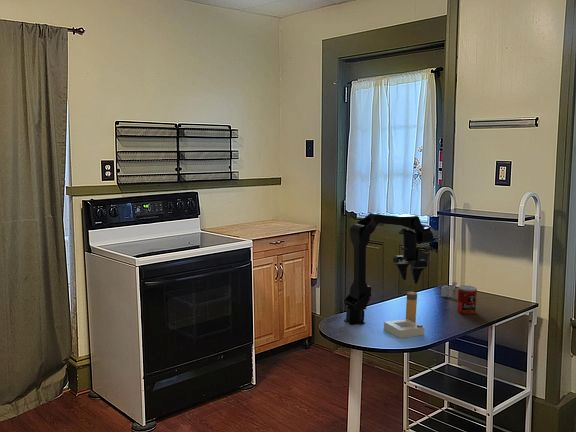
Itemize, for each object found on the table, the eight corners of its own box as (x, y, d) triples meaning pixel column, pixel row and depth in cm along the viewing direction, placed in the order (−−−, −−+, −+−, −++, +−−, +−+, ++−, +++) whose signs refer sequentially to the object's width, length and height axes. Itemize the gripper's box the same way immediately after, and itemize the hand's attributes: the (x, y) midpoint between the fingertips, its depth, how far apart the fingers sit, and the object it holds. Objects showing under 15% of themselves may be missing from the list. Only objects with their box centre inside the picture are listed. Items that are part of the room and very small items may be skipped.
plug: (409, 326, 228) (410, 294, 226) (403, 323, 232) (404, 292, 230) (417, 325, 230) (419, 294, 228) (411, 322, 233) (413, 291, 232)
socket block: (399, 338, 214) (400, 328, 214) (383, 329, 224) (384, 320, 224) (424, 335, 218) (424, 325, 218) (407, 326, 228) (407, 317, 228)
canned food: (462, 315, 246) (464, 290, 244) (453, 309, 254) (455, 285, 252) (478, 314, 247) (480, 289, 246) (469, 309, 255) (471, 285, 254)
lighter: (440, 296, 276) (441, 279, 276) (442, 295, 278) (443, 279, 277) (454, 298, 272) (456, 282, 271) (456, 298, 273) (457, 281, 272)
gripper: (439, 245, 233) (439, 284, 234) (415, 241, 251) (415, 277, 252) (415, 247, 230) (415, 285, 231) (392, 243, 247) (392, 278, 248)
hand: (410, 281), depth 240 cm, fingers open, 9 cm apart
